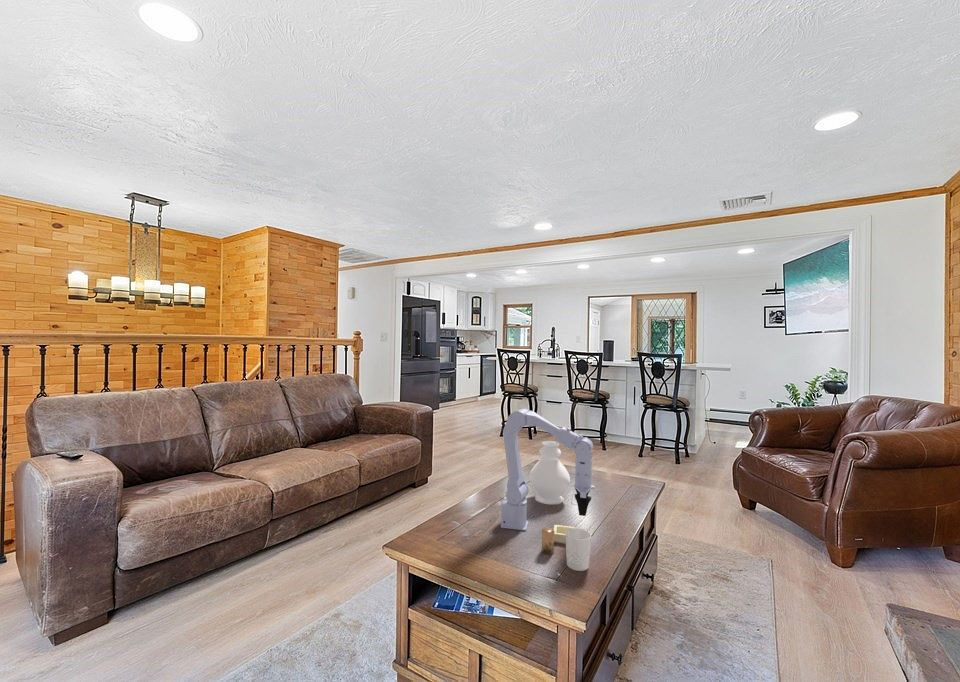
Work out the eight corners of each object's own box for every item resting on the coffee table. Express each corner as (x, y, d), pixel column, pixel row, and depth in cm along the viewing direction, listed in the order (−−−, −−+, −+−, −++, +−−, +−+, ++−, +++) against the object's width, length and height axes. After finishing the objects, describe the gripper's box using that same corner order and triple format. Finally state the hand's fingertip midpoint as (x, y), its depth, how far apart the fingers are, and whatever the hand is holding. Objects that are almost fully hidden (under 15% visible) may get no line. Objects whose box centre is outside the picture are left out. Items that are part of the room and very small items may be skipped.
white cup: (586, 559, 139) (587, 528, 139) (593, 572, 131) (594, 539, 131) (562, 559, 138) (563, 528, 138) (568, 572, 130) (568, 539, 130)
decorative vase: (573, 507, 181) (574, 448, 181) (530, 506, 182) (532, 447, 182) (565, 492, 199) (566, 438, 199) (527, 491, 200) (528, 437, 199)
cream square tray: (552, 542, 150) (553, 533, 150) (554, 532, 157) (554, 524, 157) (574, 544, 148) (575, 536, 148) (575, 535, 155) (575, 527, 155)
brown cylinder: (541, 553, 142) (541, 532, 142) (542, 548, 145) (542, 527, 145) (553, 555, 141) (554, 534, 141) (554, 549, 145) (554, 528, 145)
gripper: (595, 480, 145) (594, 520, 145) (594, 468, 159) (593, 504, 159) (574, 478, 146) (573, 518, 146) (574, 466, 160) (573, 502, 161)
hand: (582, 511), depth 153 cm, fingers open, 7 cm apart
